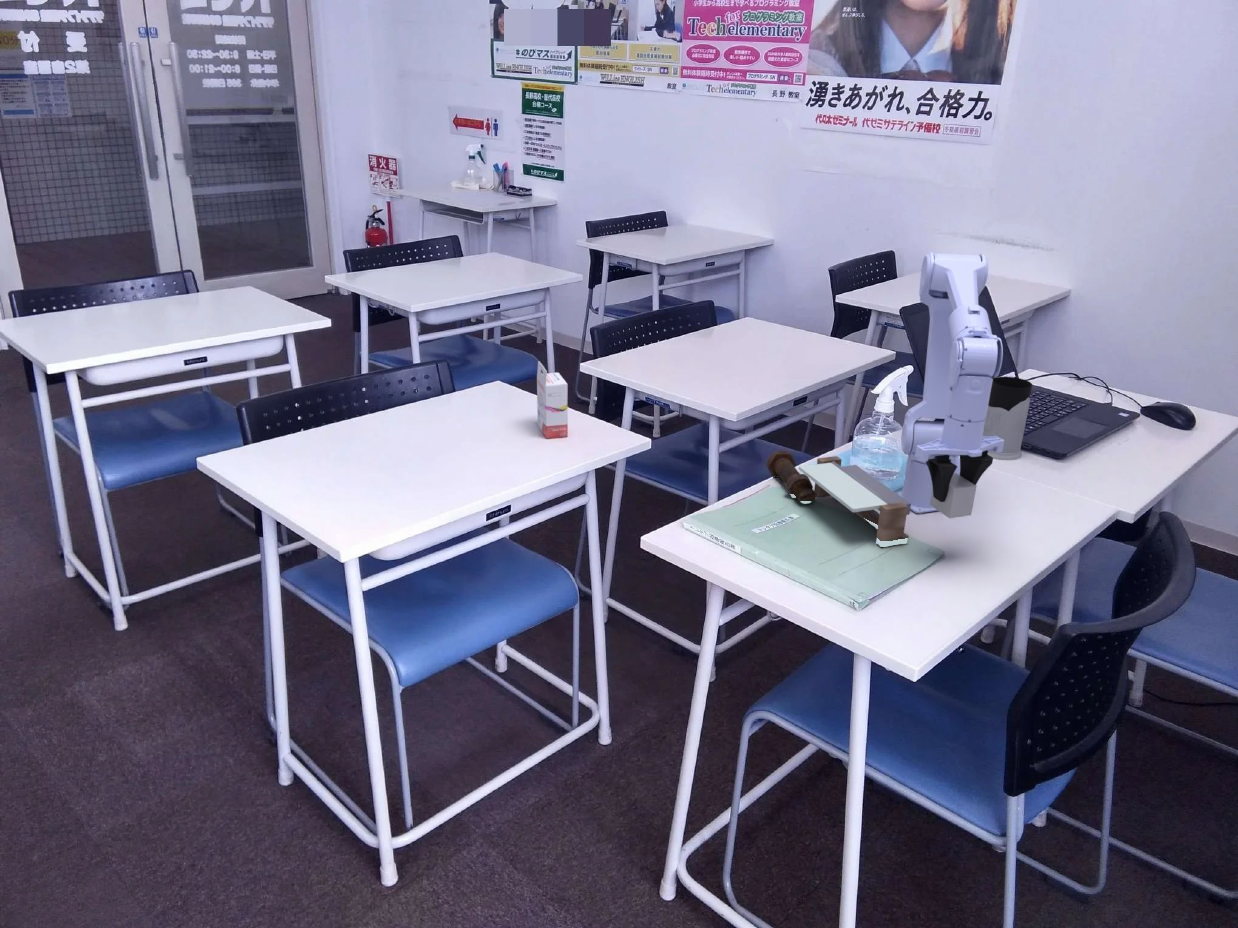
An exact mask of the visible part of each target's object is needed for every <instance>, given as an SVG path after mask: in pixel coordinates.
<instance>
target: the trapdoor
mask: <svg viewBox="0 0 1238 928" xmlns="http://www.w3.org/2000/svg"><path fill="white" fill-rule="evenodd" d="M798 471H800V473H801V474H805V475H806V476H807V477H808V478H809V480H810V481H812V482H813V483H814V484H815V483H816V484H818V485H819V486H820V487H821V488H823V489H824V490H825V491H826V492H828V493H829V494H830V496H831V497H832V498H834V499H835V500H837V502H839V503H840V504H841V505H843V506H844V507H845V508H847V509H848V510H849V511H850V512H852V513H855V512H860V511H867V510H878V511H879V512H880V508H881V505H887V504H894V503H901V502H902V503H904V504H905V505H906V506H908V509H907V515H906V516H910V514H911V509H910V508H911V503H909V502H908V501H906V500H905V499H904V498H902V497H901V496H899V495H898V494H897V492H895V491H894V490H892V489H891V488H889V487H888V486H887V485H886V484H884V483H882V482H881V481H879V479H877V478H875V477H874V476H873V475H871V474H870V473H869V472H867V471H866V470H865V469H863V468H862V467H860V466H858V465H857V464H852V465H845V466H842V465H841V466H840V465H838V464H837V463H836V462H834V461H833V462H831V463H824V464H817V463H816V464H809V465H802V466H798Z"/></svg>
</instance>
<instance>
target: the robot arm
mask: <svg viewBox="0 0 1238 928" xmlns="http://www.w3.org/2000/svg"><path fill="white" fill-rule="evenodd" d="M988 275H989V260H988V258H987V257H986V256H985V254H984V253H982V254H981V253H980V254H958V253H934V252H933V251H929V252H927V254H926V255H924V258H923V260H922V265H921V269H920V278H919V279H920V280H919V281H920V282H919V290H918V291H919V292H918V295H919V302H920V303H921V304H923V305H926V306H927V307H928V312H929V325H928V335H927V337H928V338H927V348H926V349H927V351H926V359H925V361H926V362H925V369H924V371H925V373H924V380H923V381H924V383H923V394H922V401H920V402H919V403H917V404H915V405H914V406H912V407H911V408H909V409H908V410H907V411H906V413H905V415H904V421H903V425H902V430H901V437H900V439H901V441H900V442H901V443H900V445H901V451H902V452H903V453H904V455H907V459H906V460H907V462H906V469H905V474H904V481H903V487H902V491H898V492H896V493H897V494H898V495H899V496H901V497H902V498H904V499H905V500H906V501H908V502H909V503H911V508H910V511H912V512H914V513H915V514H924V513H930V512H936V511H937V512H939V511H938V510H937V509H935V508H934V507H932V506H931V505H930V500H931V494H932V488H933V497H934V498H936V499H937V500H939V501H940V502H945V500H946V497H947V494H948V489H949V484H950V481H951V478H952V476H953V474H954V473H957V474H958V475H960V476H961V477H963V478H965V479H966V480H968V481H969V482H971V483H973V484H974V485H976V486H977V484H978V482H979V480H980V479H981V477H982V476H983V474H984V473H985V472H986V471H987V470H988V469H989V468H990V467H991V466H992V464H993V460H994V459H993V458H992V457H991V456H989V455H987V454H988V452H989V451H995V452H1002V450H1003V445H1004V440H1003V439H1001V438H999V437H997V436H989V437H984V436H983V430H984V425H985V420H986V414H987V409H988V403H989V398H990V392H991V387H992V381H993V378H996V377H999V374H1000V373H1001V372H1000V371H1001V368H1002V364H1003V356H1004V354H1003V353H1004V352H1003V351H1004V350H1003V343H1002V342H1003V341H1002V339H1001V338H1000V337H998V336H997V335H996V334H993V332H992V327H991V323H990V319H989V314H988V312H987V310H986V309H985V308H984V307H983V306H981V305H979V297H980V295H981V293H982V291H983V290H984V289H985V287H986V285H987V280H988ZM922 418H925V419H940V420H944V421H940V420H936V421H935V420H925V419H924V420H922Z"/></svg>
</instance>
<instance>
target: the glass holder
mask: <svg viewBox="0 0 1238 928" xmlns="http://www.w3.org/2000/svg"><path fill="white" fill-rule="evenodd" d="M992 379H993V381H992V387H991V392H990V398H989V403H988V409H987V414H986V420H985V425H984V430H983V436H984V437H989V436H997V437H999V438H1001V439H1003V440H1004V445H1003V450H1002V452H995V451H989V452H988V454H987V455H989V456H991V457H992V458H993V460H998V461H999V460H1001V461H1014V460H1019V459H1020V458H1022V456H1023V455H1022V451H1021V450H1022V449H1021V447H1022V444H1023V439H1024V433H1025V428H1026V423H1027V417H1028V413H1029V408H1030V404H1031V393H1032V390H1033V389H1032V388H1033V383H1032V382H1031V381H1029V380H1026V379H1023V378H1020V377H1014V376H997V377H996V378H994V377H992Z"/></svg>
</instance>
